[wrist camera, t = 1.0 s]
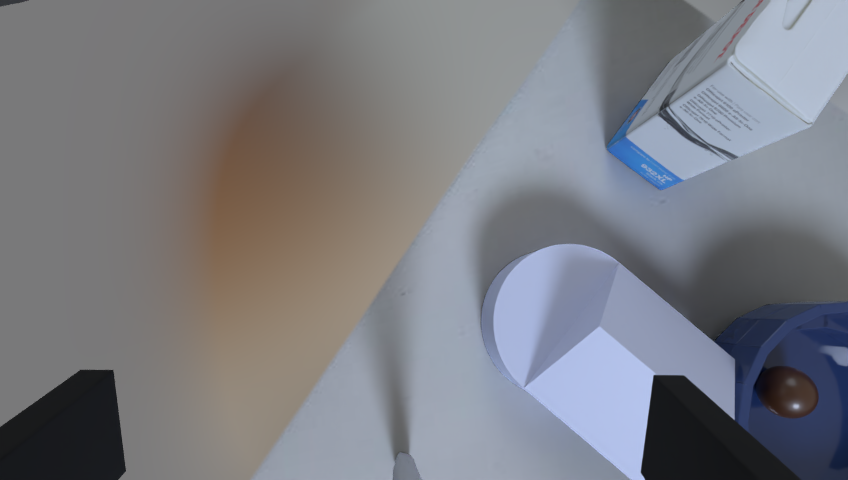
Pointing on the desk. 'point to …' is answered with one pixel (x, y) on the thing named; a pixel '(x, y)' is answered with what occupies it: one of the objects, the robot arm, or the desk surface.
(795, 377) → the ball
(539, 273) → the wedge on round base
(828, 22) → the ink box
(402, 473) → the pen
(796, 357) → the bowl
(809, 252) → the desk surface
